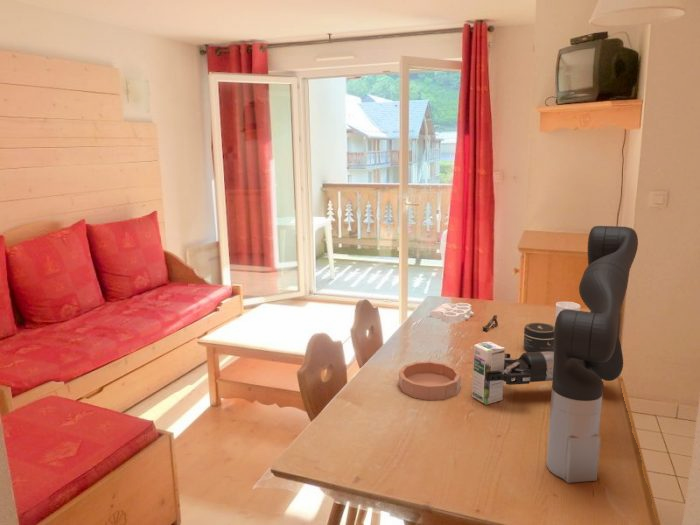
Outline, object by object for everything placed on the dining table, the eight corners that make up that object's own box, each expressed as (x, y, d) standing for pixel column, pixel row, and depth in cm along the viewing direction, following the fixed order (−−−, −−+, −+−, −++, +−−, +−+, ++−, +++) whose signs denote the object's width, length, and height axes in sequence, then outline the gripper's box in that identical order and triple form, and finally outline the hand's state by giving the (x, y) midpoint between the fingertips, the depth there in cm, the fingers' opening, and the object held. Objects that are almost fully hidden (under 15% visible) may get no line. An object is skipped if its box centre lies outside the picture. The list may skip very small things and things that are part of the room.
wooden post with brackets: (500, 323, 196) (498, 313, 194) (489, 337, 192) (486, 327, 190) (496, 322, 197) (494, 312, 195) (484, 336, 193) (482, 326, 191)
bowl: (467, 397, 142) (467, 384, 141) (406, 401, 140) (406, 388, 139) (449, 372, 157) (450, 360, 156) (395, 375, 156) (395, 363, 155)
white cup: (552, 334, 187) (554, 306, 185) (555, 327, 194) (557, 300, 191) (577, 337, 183) (579, 309, 181) (579, 330, 190) (581, 303, 188)
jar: (534, 357, 167) (536, 334, 166) (516, 346, 177) (518, 323, 175) (563, 354, 170) (564, 330, 168) (543, 342, 179) (545, 320, 178)
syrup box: (470, 396, 142) (472, 344, 139) (488, 391, 145) (490, 340, 142) (485, 405, 137) (488, 351, 134) (503, 400, 140) (506, 347, 137)
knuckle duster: (444, 307, 219) (479, 313, 212) (425, 320, 204) (463, 326, 197) (444, 299, 219) (480, 305, 211) (426, 311, 204) (463, 318, 196)
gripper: (530, 342, 147) (471, 346, 145) (555, 363, 133) (490, 367, 132) (529, 368, 149) (470, 372, 147) (553, 392, 135) (489, 396, 133)
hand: (480, 370), depth 139 cm, fingers closed on syrup box, 7 cm apart
